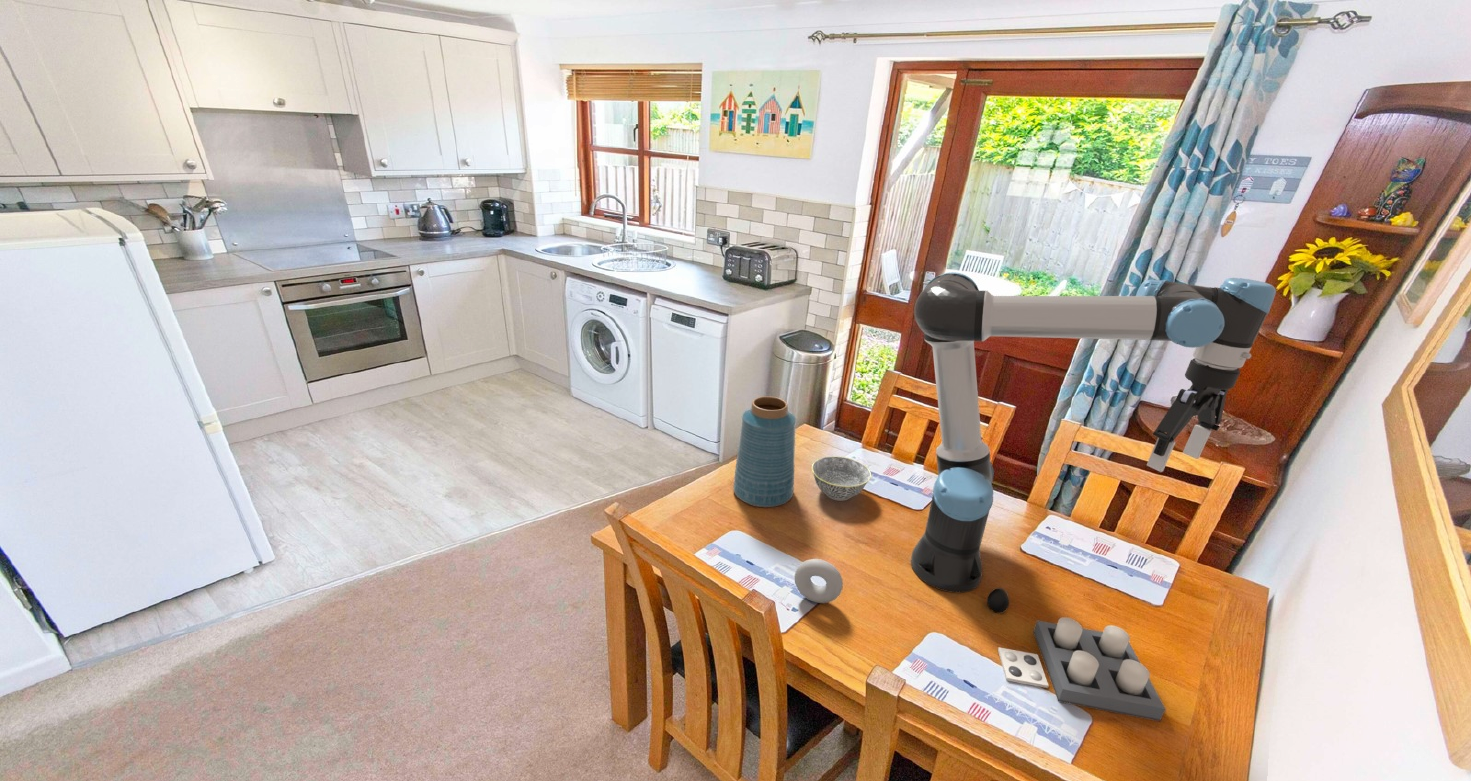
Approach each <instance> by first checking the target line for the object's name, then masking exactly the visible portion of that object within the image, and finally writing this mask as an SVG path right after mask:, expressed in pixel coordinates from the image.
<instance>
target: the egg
mask: <svg viewBox="0 0 1471 781" xmlns="http://www.w3.org/2000/svg"><path fill="white" fill-rule="evenodd" d="M986 602H987V603H986V604H987V606H988V608H989V609H990V611H992V612H994V613H995V614H1003V613H1004V612H1006V611H1007V609H1008V608H1009V605H1010V597H1009V594H1008V592H1007V591H1006V590H1005V589H1003V588H1000V587H996V588H995V589H994V588H993V589H992V590H991V591H990V592H989V593H988V595H987V599H986Z"/></svg>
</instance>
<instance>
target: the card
mask: <svg viewBox="0 0 1471 781" xmlns="http://www.w3.org/2000/svg"><path fill="white" fill-rule="evenodd" d="M997 650H998V655H999V656H998V657H999V658H1000V664H1001V666H1002V669H1003V674H1004V678H1005V680H1006V681H1009V682H1015V683H1020V684H1025V685H1030V686H1034V687H1040V688H1045V689H1048V688H1049V683H1048V680H1047V678H1046V677H1047V676H1046V674H1045V671H1044V669H1043V666H1042V663H1041V661H1040V660H1041V659H1040V658H1039V657H1040V656H1039V655H1038V654H1037V653H1032V652H1027V651H1022V650H1021V651H1020V650H1017V649H1016V650H1014V649H1010V648H1005V647H997Z"/></svg>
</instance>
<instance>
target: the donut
mask: <svg viewBox="0 0 1471 781" xmlns="http://www.w3.org/2000/svg"><path fill="white" fill-rule="evenodd" d="M812 577H819V578H821V579H823V581H824V582H825V583H826V584H824V585H818V584H816V583H814V582H813V581H812ZM794 583H795V587H796V588H797V590H798V592H799V593H800V594H801V596H803V597H804V598H806V599H807V600H809V601H811V602H813V603H817V604H818V603H819V604H827V603H831V602H833V601H835V600H836V599H837V598H839V597H840V595H841V593H842V590H843V587H844V586H843V585H844V584H843V577H842V575H841V573H840V571H839V570H838V569H837V568H836V566H834V564H832V563H830V562H829V561H826V560H824V559H820V558H812V559H811V558H810V559H807V560H805V561H802V562H801V563H800V564H799V565H798V566H797V568H796V569H795V573H794Z"/></svg>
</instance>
